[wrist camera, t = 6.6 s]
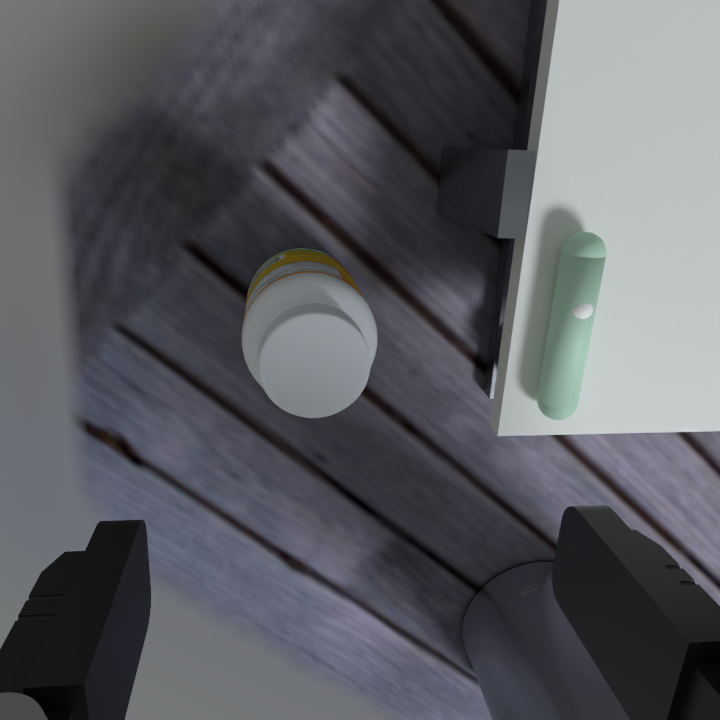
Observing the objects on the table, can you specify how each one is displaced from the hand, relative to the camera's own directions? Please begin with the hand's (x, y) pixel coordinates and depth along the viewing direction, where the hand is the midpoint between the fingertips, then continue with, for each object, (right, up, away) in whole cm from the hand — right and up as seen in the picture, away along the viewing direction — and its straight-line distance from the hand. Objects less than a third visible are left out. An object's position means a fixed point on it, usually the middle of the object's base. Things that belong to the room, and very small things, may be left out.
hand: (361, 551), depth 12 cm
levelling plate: (+13, +10, +12) cm, 21 cm away
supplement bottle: (-3, +7, +19) cm, 20 cm away
